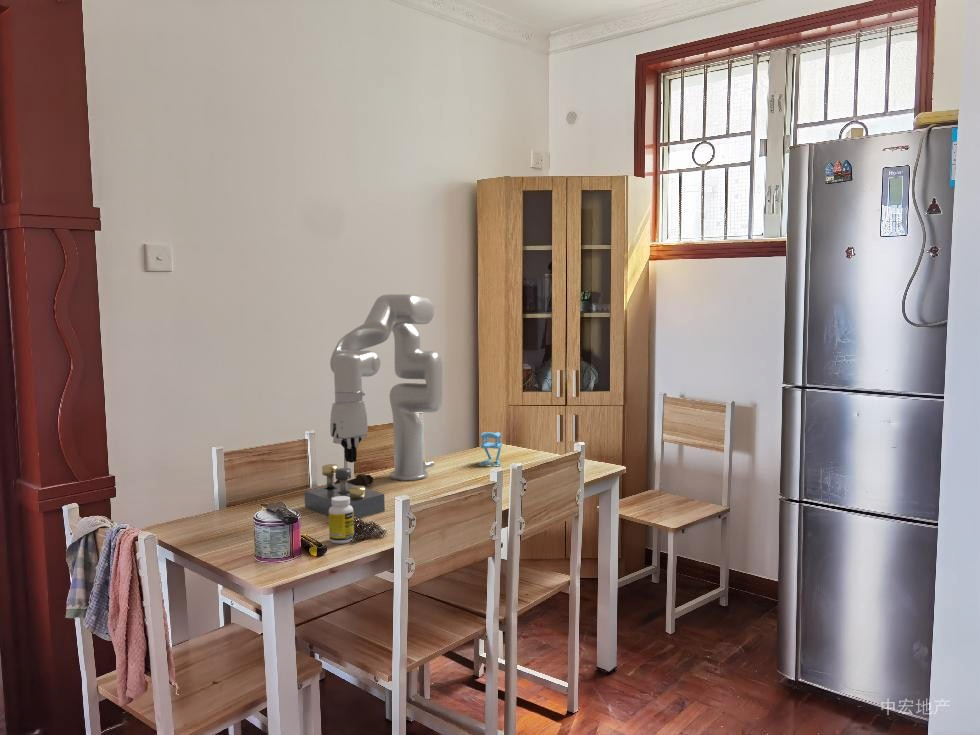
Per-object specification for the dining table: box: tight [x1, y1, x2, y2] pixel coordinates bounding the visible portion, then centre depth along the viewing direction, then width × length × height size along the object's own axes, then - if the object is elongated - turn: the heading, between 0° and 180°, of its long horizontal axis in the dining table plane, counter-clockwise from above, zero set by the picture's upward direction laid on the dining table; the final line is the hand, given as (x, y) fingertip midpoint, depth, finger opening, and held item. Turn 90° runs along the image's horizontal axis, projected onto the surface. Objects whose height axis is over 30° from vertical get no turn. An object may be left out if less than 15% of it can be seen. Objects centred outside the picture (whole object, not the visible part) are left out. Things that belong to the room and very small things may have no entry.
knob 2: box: [350, 486, 366, 499], centre depth 225 cm, size 4×4×8 cm
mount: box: [304, 483, 385, 519], centre depth 230 cm, size 14×20×5 cm
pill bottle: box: [328, 496, 355, 545], centre depth 202 cm, size 6×6×11 cm
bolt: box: [334, 474, 374, 489], centre depth 252 cm, size 6×5×15 cm
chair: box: [478, 431, 503, 468], centre depth 285 cm, size 8×8×12 cm
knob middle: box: [334, 467, 352, 495], centre depth 230 cm, size 4×4×8 cm
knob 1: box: [321, 463, 338, 490], centre depth 235 cm, size 4×4×8 cm
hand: (350, 461), depth 226 cm, fingers closed
